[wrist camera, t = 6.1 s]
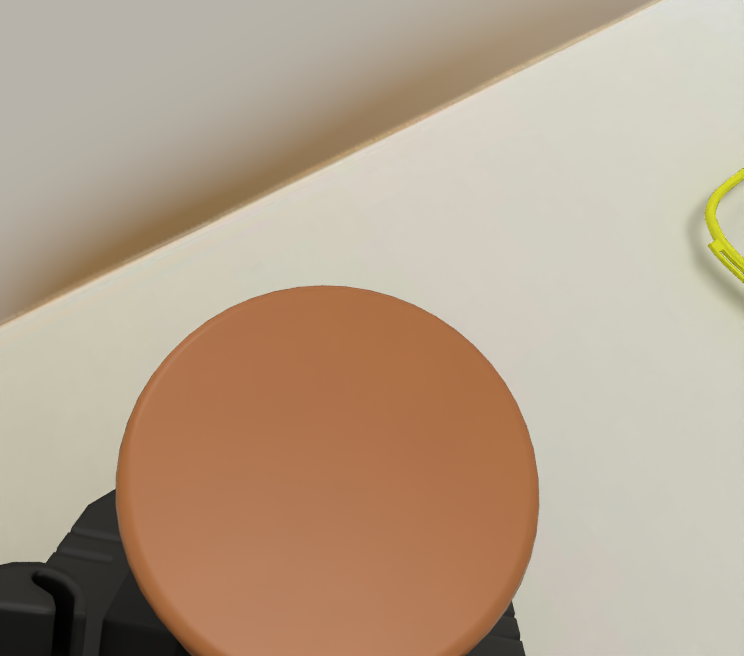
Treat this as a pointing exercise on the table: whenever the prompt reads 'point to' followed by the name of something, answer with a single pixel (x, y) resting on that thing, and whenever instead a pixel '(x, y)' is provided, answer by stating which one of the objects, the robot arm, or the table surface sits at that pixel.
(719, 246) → the glasses
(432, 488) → the black orange-capped rod
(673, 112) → the table surface
